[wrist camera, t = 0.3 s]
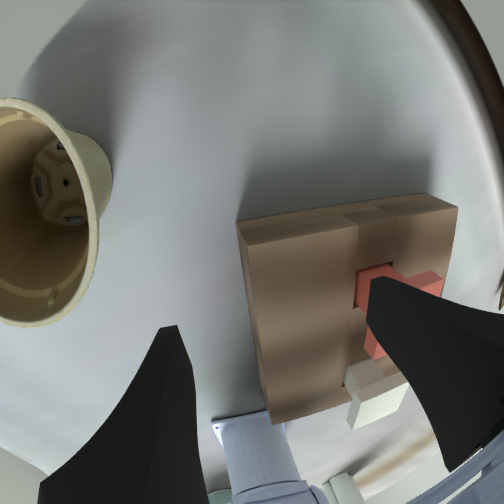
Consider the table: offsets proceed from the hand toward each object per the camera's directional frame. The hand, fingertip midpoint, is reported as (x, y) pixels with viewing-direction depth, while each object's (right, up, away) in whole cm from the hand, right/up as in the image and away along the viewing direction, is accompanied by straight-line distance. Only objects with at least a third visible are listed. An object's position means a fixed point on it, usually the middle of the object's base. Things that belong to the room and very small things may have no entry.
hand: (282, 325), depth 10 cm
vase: (+19, -52, +39) cm, 68 cm away
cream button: (+8, -7, +13) cm, 17 cm away
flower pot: (-12, +7, +5) cm, 15 cm away
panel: (+7, -2, +13) cm, 15 cm away
